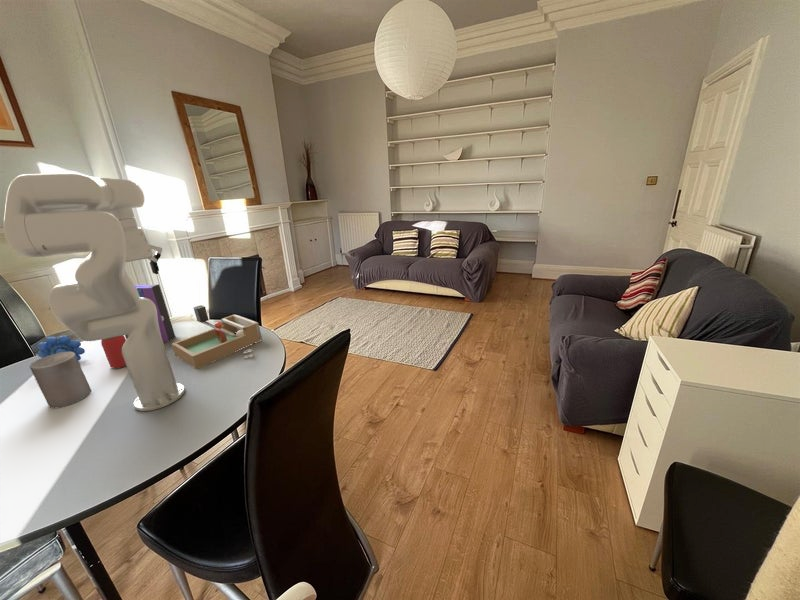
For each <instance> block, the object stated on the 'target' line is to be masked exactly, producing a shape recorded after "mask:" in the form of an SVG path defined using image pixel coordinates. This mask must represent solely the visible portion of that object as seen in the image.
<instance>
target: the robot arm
mask: <svg viewBox="0 0 800 600" xmlns="http://www.w3.org/2000/svg"><path fill="white" fill-rule="evenodd" d="M144 204H145V194H144V191H143V190H142V188H141V186H140V185H139V184H138V183H137V182H136V181H135V180H132V179H121V178H112V177H109V178H108V177H101V176H100V177H99V176H91V175H90V176H89V175H86V174H82V173H77V172H75V173H73V172H68V173H67V172H65V173H24V174H20V175H18V176H16V177H15V178H13V179H12V181H11V182H10V184H9V186H8V188H7V191H6V197H5V207H4V215H3V235H4V237H5V241H6V242H7V244H8V245H9V247H11V249H12V250H13V251H14V252H16V253H17V254H18V255H21V256H24V257H30V258H41V257H42V258H43V257H44V258H45V257H52V256H59V255H60V256H62V255H69V254H79V253H90V254H88V256H86V257H85V258H84V259H83V260H82V261H81V263H80V264H79V265H78V268H76V271H75V274H74V275H75V277H74V278H75V281H70V282H64V283H60V284H57V285H55V286H54V287H52V289H50V291H49V293H48V297H47V302H48V306H49V309H50V311H51V313H52V315H53V316H54V317H55V318H56V320H57V321H58V322H59V323H61V324H62V325H63V326H64V327H65V328H67V330H69V331H70V332H71V333H73V335H75V336H76V337H77V338H78V339H80V340H82V341H85V342H95V341H101V340H102V339H106V338H111V337H116V336H122V335H123V336H125V335H128V336H129V337H128V338H127V340H126V341H125V343H124V344H123V347H122V355H123V358H124V361H125V363H126V366H125V367H126V368H127V372H128V373H129V376H130V380H131V381H132V384H133V386H134V389H135V392H136V394H137V397H136V398H135V400H134V401H133V407H134V409H135V410H137V411H141V412H149V411H154V410H158V409H161V408H165V407H166V406H168V405H171V404H173V403H174V402H176V401H177V400H179V399H180V398H181V397H182V396H183V395H184V393H185V392H186V389H185V386H184V384H182V383H180V382H179V383H178V382H177V381H176V378H175V375H174V371H173V369H172V365H171V362H170V359H169V357H168V353H167V350H166V347H165V344H164V343H165V342H163V340H162V337H161V333H160V329H159V324H158V316H157V309H156V306H155V304H154V303H153V301H151V300H150V299H148V298H144V297H139V293H138V291H137V289H136V287H135V286H134V285H135V284H134V283H133V281H132V279H131V278H130V276H129V274H128V273H127V271H126V269H125V267H126V263H129V262H134V261H140V260H148V261H150V262H149V266H150V268H151V272H152V274H155V275H159V271H160V268H159V265H158V261H159V260H160V258H161V256H162V252H163V248H162V247H160V246H158V245H157V246H155V245H153V244H150V243H149V240H148V238H147V236H146V234H145V232H144V230H143V228H142V227H138V224H137V219H136V217H135V214H134V210H133V209H134V208H135V209H136V208H142V207H143V206H144ZM152 250H153V251H155V253H154V255H153V251H152Z"/></svg>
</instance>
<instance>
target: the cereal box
mask: <svg viewBox="0 0 800 600" xmlns="http://www.w3.org/2000/svg"><path fill="white" fill-rule="evenodd" d="M134 286H135V287H136V289H137V291H138V293H139V297H144V298H148V299H150V300H151V301H153V303H154V304H155V306H156V309H157V316H158V324H159V329H160V333H161V337H162V340H163V343H169V342H170V340H171V339H172V340H174V339H175V338H176V334H175V331H174V328H173V325H172V322H171V318H170V315H169V312H168V309H167V305H166V302H165V299H164V296H163V293H162V289H161V286H160V284H140V285H139V284H134ZM124 337H125V339H126V340H127V338H128V337H129V336H128V335H124ZM174 337H175V338H174ZM173 338H174V339H173ZM172 340H171V341H172ZM168 341H169V342H168Z"/></svg>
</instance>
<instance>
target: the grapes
mask: <svg viewBox="0 0 800 600" xmlns="http://www.w3.org/2000/svg"><path fill="white" fill-rule="evenodd" d="M81 345H82V342H81V341H79V340H77V339H72V340H71V338H70V337H69V336H67V335H61V336H59V337H58V338H57V337H55V336H47V338H46V339H45V341H43V342H39V343H38V344H37V346H36V347H37V348H38V350H39V351H37V357H39V358H40V359H41V358H43V357H46V356H49V355H52V354H56V353H61V352H74V353H75V355H76V357H77V360H78V362H80V360H82V356H81V355H83V354H85V352H86V350H85V349H84V348H83V347H81Z"/></svg>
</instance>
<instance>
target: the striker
mask: <svg viewBox="0 0 800 600" xmlns="http://www.w3.org/2000/svg"><path fill="white" fill-rule="evenodd" d="M193 311H194V314H195V318H196V321H197V322H198V323H201V324H203V325H206V326H207V327H210V328H211V329H215V331H216V334H217V338H218V341H220V342H225V341H227V338H226V334H228V335H230V336H232V337H236V334H234V333H232V332H229V331H227V330H225V329H223V328H221V327H222V326H223V325H222V322H221V321H217V322H215V323H214V324H213V323H210V322H208V321H209V320H210V319H209V317H208V316H209V315H208V313H207V308H206V306H204V305H197V306H194V307H193ZM225 333H226V334H225Z"/></svg>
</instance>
